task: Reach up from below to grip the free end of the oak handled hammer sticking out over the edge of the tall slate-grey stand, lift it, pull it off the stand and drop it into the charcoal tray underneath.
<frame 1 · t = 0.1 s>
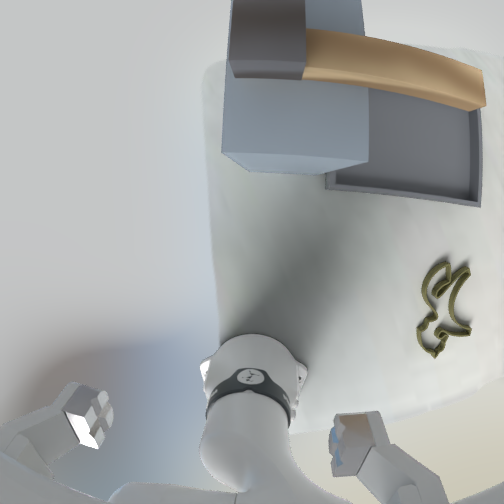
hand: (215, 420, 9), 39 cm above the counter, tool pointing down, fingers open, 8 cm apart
cookie cutter: (441, 308, 49), on the counter
slate stand: (284, 127, 44), on the counter
oak handled hammer: (298, 60, 18), point 26 cm above the counter, touching slate stand
charcoal tray: (407, 141, 43), on the counter
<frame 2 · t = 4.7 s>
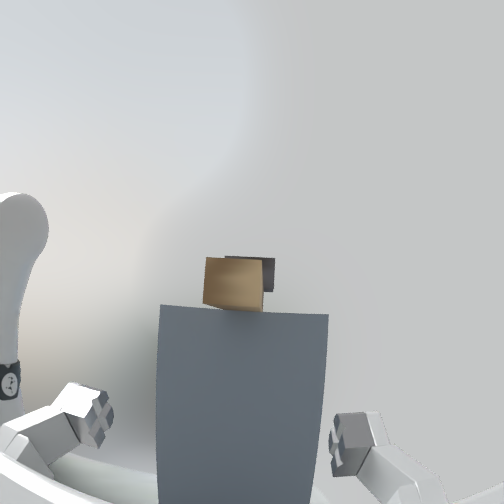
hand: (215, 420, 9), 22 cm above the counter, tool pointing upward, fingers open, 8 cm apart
oak handled hammer: (246, 312, 30), point 26 cm above the counter, touching slate stand
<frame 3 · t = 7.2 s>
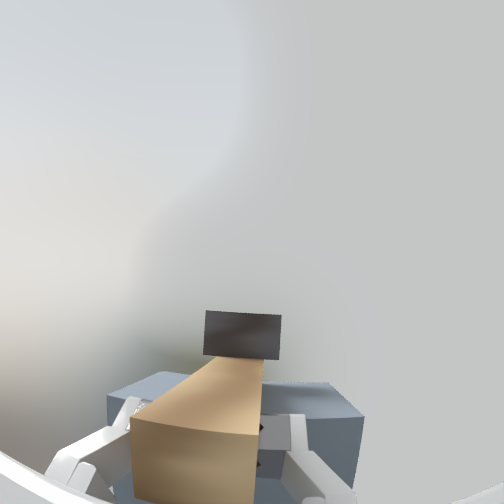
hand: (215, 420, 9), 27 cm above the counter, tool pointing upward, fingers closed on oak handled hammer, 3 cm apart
oak handled hammer: (238, 393, 19), point 26 cm above the counter, touching gripper, slate stand
when the fingers open (20 cm above the counter, at t = 13.6 s): oak handled hammer drops 18 cm, resting on charcoal tray.
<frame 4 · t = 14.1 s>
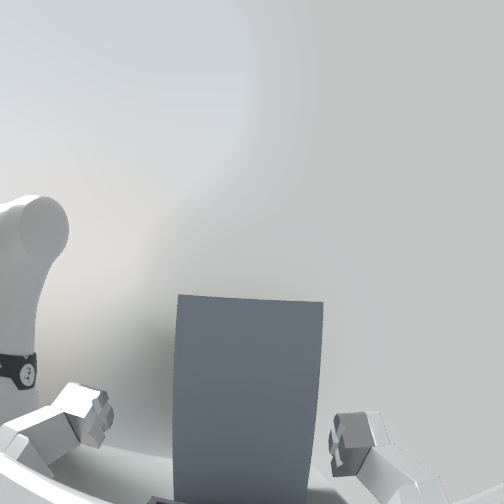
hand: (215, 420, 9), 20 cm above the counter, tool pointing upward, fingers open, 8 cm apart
slate stand: (240, 502, 29), on the counter
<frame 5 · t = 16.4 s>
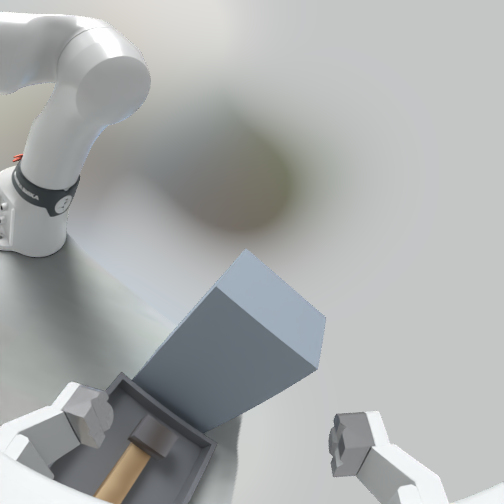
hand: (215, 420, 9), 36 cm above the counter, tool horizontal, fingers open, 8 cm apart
slate stand: (178, 389, 48), on the counter
oak handled hammer: (136, 452, 34), point 1 cm above the counter, touching charcoal tray
charcoal tray: (118, 480, 30), on the counter
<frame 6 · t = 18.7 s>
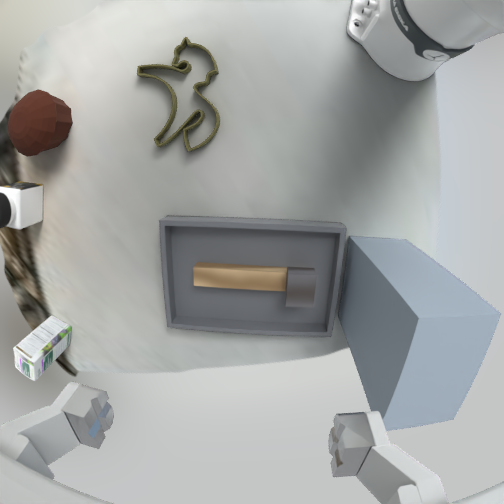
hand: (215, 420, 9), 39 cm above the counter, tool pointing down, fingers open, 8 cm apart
muffin: (55, 123, 44), on the counter
medicine bottle: (31, 200, 49), on the counter
cookie cutter: (184, 95, 42), on the counter
slate stand: (372, 278, 49), on the counter
oak handled hammer: (285, 276, 49), point 1 cm above the counter, touching charcoal tray
syrup box: (61, 329, 57), on the counter
charcoal tray: (251, 274, 50), on the counter
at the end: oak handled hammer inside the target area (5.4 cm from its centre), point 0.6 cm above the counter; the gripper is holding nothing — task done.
